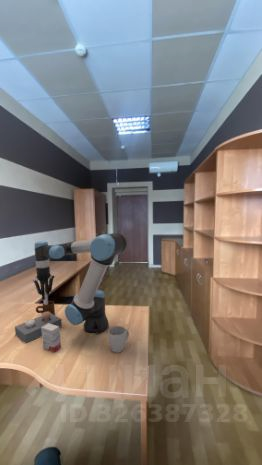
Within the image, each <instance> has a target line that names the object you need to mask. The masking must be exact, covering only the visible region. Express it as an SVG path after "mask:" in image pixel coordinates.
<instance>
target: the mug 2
mask: <svg viewBox="0 0 262 465" xmlns="http://www.w3.org/2000/svg"><path fill="white" fill-rule="evenodd" d="M107 330H108V331H107V332H108V333H107V334H108V335H107V336H108V337H107V338H108V344H109V345H108V346H109V348H110V350H111V351H112V352H113V353H120V352H121V353H122V352H123V351H124V350H125V348H126V342H127V340H128V339H129V337H130V331H129V330H128V329H127V328H125V327H124V326H122V325H114V326H111V327H110V328H108V329H107Z"/></svg>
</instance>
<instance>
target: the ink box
mask: <svg viewBox="0 0 262 465" xmlns="http://www.w3.org/2000/svg"><path fill="white" fill-rule="evenodd" d="M41 331H42V336H41V337H42V338H41V340H42V348H43V349H45V350H47V351H50V352H52V353H53V352H54V353H56V352H57V351H58V350H59V349H60V348H61V347H62V344H61V334H60V333H61V332H60V328H59V326H56V325H53V324H50V323H48V324H46V325H44V326H42V327H41Z"/></svg>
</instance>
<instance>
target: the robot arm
mask: <svg viewBox="0 0 262 465" xmlns="http://www.w3.org/2000/svg"><path fill="white" fill-rule="evenodd" d="M128 245H129V244H128V240H127V237H126V236H125V235H124V234H123V233H120V232H113V233H106V234H105V233H104V234H100V235H97V236H95V237H94V238H92V239H84V240H83V239H82V240H77V241H70V242H65V243H63V242H62V243H58V244H53V245H52V244H51V245H49V243H48V241H46V240H45V241H44V240H41V241H35V242H34V255H35V256H34V257H35V258H34V259H35V267H36V277H35V279H33V280H32V283H34V285H35V288H36V291H37V293H38V294H37V295H40V296H41V300H42V301H43V303H44V304H45V305H47V304H48V301H49V297H50V292H52V291H53V290H52V288H53V282H54V278H55V275H53V274H52V273H51V269H50V268H51V267H50V259H55V260H57V259H62V258H63V257H65V256H68V255H76V254H84V253H85V254H86V253H87V254H88V253H90V258H91V259H92V260H91V262H90V265H89V267H88V268H87V269H88V270H87V272H86V273H85V277H84V279H83V281H82V284H81V287H80V289H79V291H78V293H76V294H75V295H74V296H73V299H72V302H71V303H70V304H67V305H66V306H65V307H64V315H65V318H66V320H67V321H68V322H69V323H70V324H71V325H73V326H78V325H80V324H82V323H83V322H84V324H83V330H84V332H85V333H87V334H90V335H92V334H93V335H98V334H102V333H104V332H106V331H107V330H109V327H110V326H109V320H108V317H107V315H106V314H107V313H106V297H105V296H106V295H105V292H104V291H103V290H101V289H99V287H100V285H101V282H102V280H103V277H104V275H105V273H106V272H107V269H108V267H109V266H112V264H113V263H114V261H115V258H116V257H117V256H118V255H121V254H123V253H125V251H126V250H127V248H128Z"/></svg>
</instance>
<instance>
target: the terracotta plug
mask: <svg viewBox="0 0 262 465" xmlns="http://www.w3.org/2000/svg"><path fill="white" fill-rule="evenodd" d="M41 316H42V319H44V322H46V321H48V320H49V318H50V317H51V314H50V312H48V311H47V312H43V313H41Z"/></svg>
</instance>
